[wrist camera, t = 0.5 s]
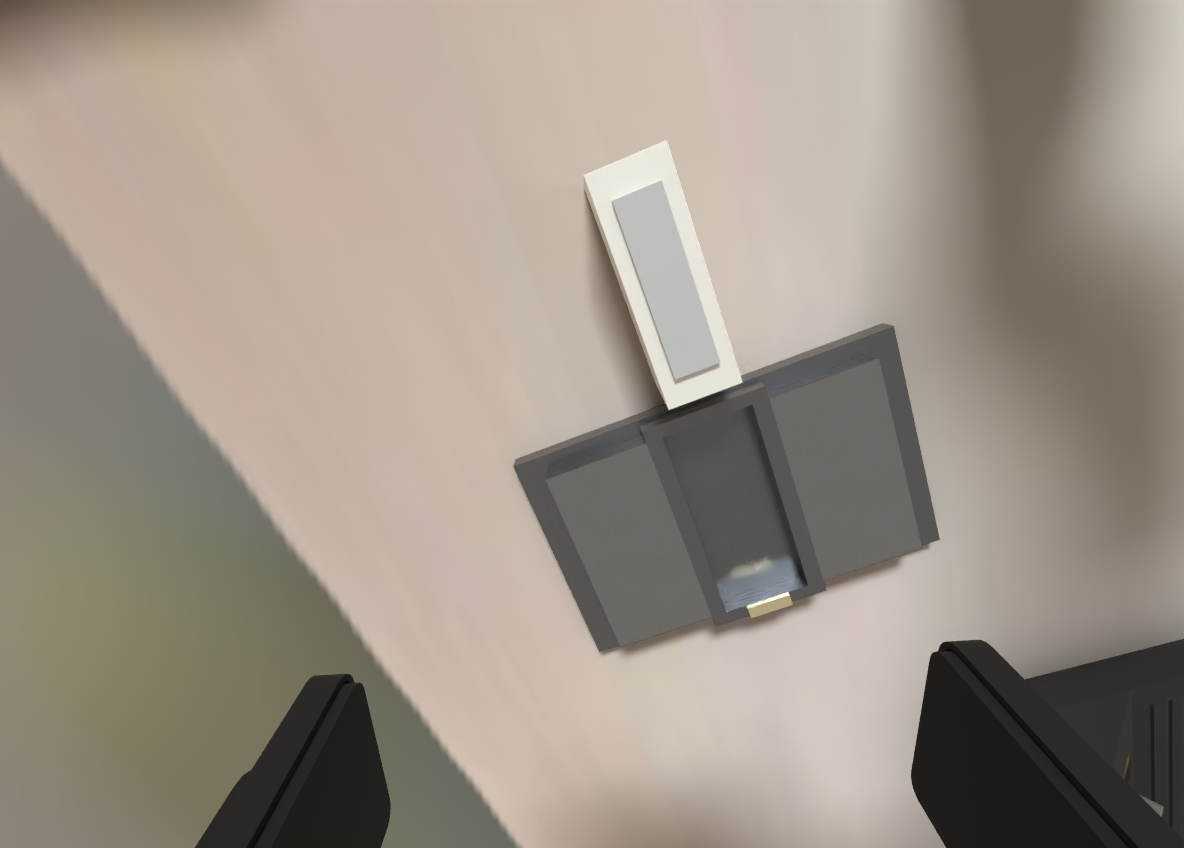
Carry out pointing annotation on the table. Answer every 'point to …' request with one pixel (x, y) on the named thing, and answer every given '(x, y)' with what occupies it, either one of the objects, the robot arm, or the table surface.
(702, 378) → the blanking panel
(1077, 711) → the video game console
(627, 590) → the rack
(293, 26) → the table surface
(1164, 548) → the table surface
